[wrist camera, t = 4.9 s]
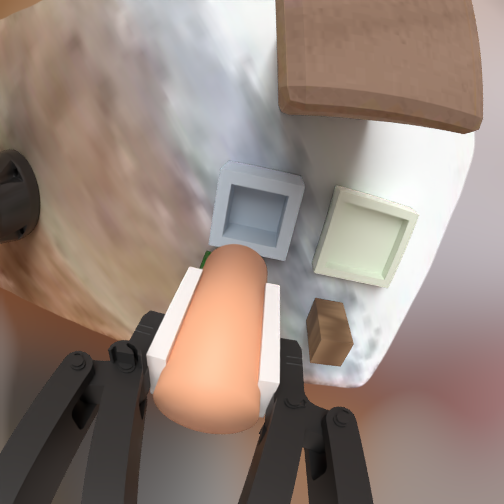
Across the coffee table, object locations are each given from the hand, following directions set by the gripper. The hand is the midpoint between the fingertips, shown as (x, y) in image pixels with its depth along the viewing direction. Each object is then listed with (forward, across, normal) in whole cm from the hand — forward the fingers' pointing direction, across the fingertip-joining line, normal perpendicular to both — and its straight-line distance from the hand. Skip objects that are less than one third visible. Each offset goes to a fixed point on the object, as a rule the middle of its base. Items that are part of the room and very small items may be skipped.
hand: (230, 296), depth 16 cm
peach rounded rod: (+3, 0, 0) cm, 3 cm away
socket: (+18, 0, 0) cm, 18 cm away
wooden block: (+18, +4, +16) cm, 25 cm away
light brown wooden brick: (+18, +12, -13) cm, 26 cm away
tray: (+18, +14, -1) cm, 23 cm away
